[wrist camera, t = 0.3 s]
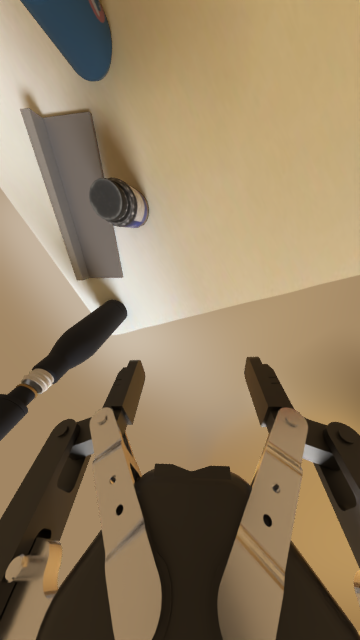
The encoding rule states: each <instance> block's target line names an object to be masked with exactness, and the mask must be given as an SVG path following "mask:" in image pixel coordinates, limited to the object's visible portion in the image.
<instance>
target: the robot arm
mask: <svg viewBox="0 0 360 640" xmlns="http://www.w3.org/2000/svg"><path fill="white" fill-rule="evenodd" d="M244 374H245V379H246V382H247V385H248V389H249V391H250V395H251V397H252V401H253V404H254V407H255V410H256V413H257V416H258V419H259V422H260V425H261V427H267V429H268V432H269V434H268V437H267V440H266V443H265V446H264V448H263V452H262V454H261V457H260V460H259V463H258V465H257V468H256V470H255V473H254V476H253V479H252V482H251V484H250V485H249V484H248V483H247V482H246V481H245V480H244V479H242V478H241V477H240V476H238V475H236V474H234V473H232V472H230V467H229V466H228V467H227V466H208V467H205V468H202V469H199V470H196V471H188V470H185V469H183V468H180V467H178V466H175V465H173V464H155V469H153V470H151V471H149V472H147V473H146V474H144V475H143V476H142V474H141V471H140V469H139V466H138V464H137V462H136V460H135V457H134V455H133V452H132V449H131V446H130V443H129V440H128V437H127V434H126V431H125V430H126V427H127V425H128V424H129V425H131V424H133V421H134V417H135V414H136V410H137V407H138V403H139V399H140V395H141V392H142V389H143V385H144V381H145V372H144V369H143V366H142V363H141V361H140V360H130V361H129V364H128V366H127V367H125V368H123V369H122V370H121V371H120V372H119V373H118V375H117V377H116V380H115V382H114V384H113V386H112V388H111V391H110V393H109V395H108V397H107V399H106V402H105V404H104V406H103V408H102V409H100V410H98V411H97V412H96V413H95V414H94V415H93V417H91V418H88V419H85V420H82V421H79V422H75V421H74V420H73V419H67V420H64V421H62V422H61V423H59V424H58V425H57V426H56V427H55V428H54V429H53V431H52V432H51V434H50V436H49V438H48V439H47V441H46V443H45V445H44V446H43V448H42V450H41V451H40V453H39V455H38V456H37V458H36V460H35V461H34V463H33V465H32V467H31V468H30V470H29V472H28V473H27V475H26V477H25V478H24V480H23V482H22V483H21V485H20V487H19V489H18V491H17V492H16V494H15V495H14V497H13V499H12V501H11V502H10V504H9V506H8V508H7V509H6V511H5V512H4V514H3V516H2V518H1V519H0V640H360V631H359V633H358V632H357V630H356V629H355V627H354V626H353V624H352V623H351V621H350V620H349V619H348V617H347V616H346V615H345V613H344V612H343V611H342V609H341V608H340V607H339V606H338V604H337V602H336V601H335V600H334V598H333V597H332V595H331V594H330V593H329V591H328V590H327V589H326V588H325V586H324V585H323V583H322V582H321V580H320V579H319V578H318V577H317V575H316V574H315V573H314V571H313V570H312V568H311V567H310V566H309V564H308V563H307V561H306V560H305V559H304V557H303V556H302V555H301V553H300V552H299V551H298V549H297V548H296V546H295V545H294V544H293V542H292V541H291V535H292V530H293V524H294V519H295V513H296V508H297V502H298V497H299V491H300V486H301V480H302V469H301V463H302V458H303V459H306V460H308V461H311V462H313V463H314V466H315V468H316V470H317V472H318V475H319V477H320V479H321V481H322V484H323V486H324V488H325V491H326V493H327V495H328V497H329V499H330V502H331V504H332V506H333V509H334V511H335V513H336V515H337V518H338V520H339V522H340V525H341V527H342V529H343V531H344V534H345V536H346V538H347V540H348V542H349V545H350V547H351V550H352V552H353V554H354V556H355V559H356V561H357V563H358V566H359V568H360V435H359V434H357V432H356V431H354V430H353V429H352V428H350V427H349V426H347V425H345V424H342V423H339V422H331V423H330V424H328V425H324V424H321V423H318V422H314V421H311V420H308V419H306V418H305V417H303V416H302V415H301V414H300V413H299V412H298V411H296V410H295V409H294V408H293V406H292V404H291V403H290V401H289V399H288V397H287V395H286V393H285V391H284V389H283V387H282V385H281V384H280V382H279V380H278V378H277V376H276V374H275V372H274V370H273V369H272V368H271V367H270V366H269V365H268V364H262V362H261V360H260V358H259V357H247V359H246V365H245V371H244ZM93 453H94V455H95V460H94V461H93V474H94V481H95V488H96V494H97V501H98V508H99V514H100V521H101V528H102V530H101V531H100V532H99V533H98V535H97V536H96V538H95V539H94V540H93V542H92V543H91V544H90V546H89V547H88V549H87V550H86V551H85V553H84V554H83V555H82V557H81V558H80V560H79V561H78V562H77V564H76V565H75V566H74V568H73V569H72V571H71V572H70V573H69V575H68V576H67V577H66V579H65V580H64V582H63V583H62V585H61V586H60V587H59V589H58V582H57V580H58V571H59V569H60V566H61V559H62V546H61V543H60V542H59V541H60V538H61V536H62V533H63V530H64V527H65V525H66V522H67V519H68V516H69V513H70V511H71V508H72V506H73V503H74V500H75V497H76V494H77V492H78V489H79V486H80V484H81V481H82V478H83V476H84V473H85V470H86V468H87V465H88V462H89V459H90V457H91V454H93ZM354 588H355V593H356V596H357V599H358V602H359V606H360V570H358V571H357V572H356V574H355V576H354Z"/></svg>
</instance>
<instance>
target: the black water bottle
mask: <svg viewBox="0 0 360 640" xmlns="http://www.w3.org/2000/svg"><path fill="white" fill-rule="evenodd" d="M126 316H127V310H126V308H125V306H124V305H123V304H122V303H120V302H119V301H116V300H109V301H107V302H106V303H104V304H103V305H102V306H100V307H99V308H97V309H96V310H95V311H93V312H92V313H90V314H89V315H88V316H86V317H85V318H84V319H82V320H81V321H79V322H78V323H77V324H75V325H74V326H73V327H71V328H70V329H68V330H67V331H66V332H65V333H64V334H63V335H62V336H61V337H60V338H59V340H58V341H57V342H56V344H55V345H54V347H53V348H52V350H51V352H50V353H49V355H48V356H47V357H45V358H44V359H43V360H42V361H40V362H39V363H38V364H37V365H35V366H34V367H33V369H32V371H31V372H29V374H28V375H26V376H24V378H23V380H22V381H21V384H19V385H17V386H16V388H15V389H14V390H12V391H11V392H10V393H9V394H8V395H4V394H0V441H1V440H2V439H3V438H4V437H5V435H6V434H7V433H8V432H9V431H10V430H11V429H12V428H13V427H14V426H15V425H16V424H17V423H18V422H19V421H20V420H21V419H22V418H23V417H24V416H25V415H26V414H27V412H28V408H27V407H26V406H27V405H28V404H29V403H30V402H31V401H32V400H33V399H34V398H36V397H37V395H38V394H41V393H43V392H44V391H46V390H47V389H48V387H50V386H51V385H52V384H54V383H56V382H57V381H58V380H59V379H60V378H61V377H62V376H63V375H64V374H65V373H66V372H67V371H68V370H69V369H71V368H73V367H75V366H77V365H79V364H81V363H82V362H84V361H85V360H87V359H88V358H89V357H91V356H92V355H93V354H94V353H95V352H96V351H97V350H98V349H99V348H100V347H101V345H102V344H103V343H104V342H105V341H106V340H107V339H108V338H109V336H110V335H111V334H112V333H113V332H114V331H115V330H116V329H117V327H118V326H119V325H120V324H121V323H122V322H123V321H124V320H125V318H126Z"/></svg>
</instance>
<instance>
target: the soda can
mask: <svg viewBox="0 0 360 640" xmlns="http://www.w3.org/2000/svg"><path fill="white" fill-rule="evenodd" d="M20 1H21V2H22V3H23V4H24V6H25V7H26V8H27V10H28V11H29V12H30V13H31V15H32V16H33V17H34V19H35V20H36V21H37V22H38V24H39V25H40V26H41V28H42V29H43V30H44V31H45V33H46V34H47V35H48V37H49V38H50V39H51V41H52V42H53V43H54V44H55V46H56V47H57V48H58V50H59V51H60V52H61V53H62V55H63V56H64V57H65V59H66V60H67V61H68V62H69V64H70V65H71V66H72V68H73V69H74V70H75V71H76V72H77V74H78V75H80V76H81V77H82V78H84V79H86V80H88V81H99V80H101V79H103V78H104V77H105V76H106V74H107V73H108V71H109V68H110V64H111V56H112V40H111V33H110V28H109V24H108V21H107V18H106V15H105V13H104V11H103V9H102V6H101V4H100V2H99V0H20Z"/></svg>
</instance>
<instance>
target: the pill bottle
mask: <svg viewBox="0 0 360 640" xmlns="http://www.w3.org/2000/svg"><path fill="white" fill-rule="evenodd" d="M89 199H90V203H91V206H92V208H93V210H94V211H95V212H96V214H97V215H98V216H100V217H101V218H103V219H105V220H106V221H107V222H109V223H110V224H112V225H114V226H119V227H131V228H138V227H140V226H142V225H144V224H145V222H146V221H147V219H148V215H149V207H148V203H147V201H146V199H145V197H144V196H143V195H142V194H141V193H140V192H138V191H137V190H135V189H134V188H132V187H131V186H129V185H128V184H126V183H125V182H123V181H122V180H120V179H117V178H108V179H106V178H99V179H97V180H95V181H94V182H93V183H92V185H91V187H90V191H89Z"/></svg>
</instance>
